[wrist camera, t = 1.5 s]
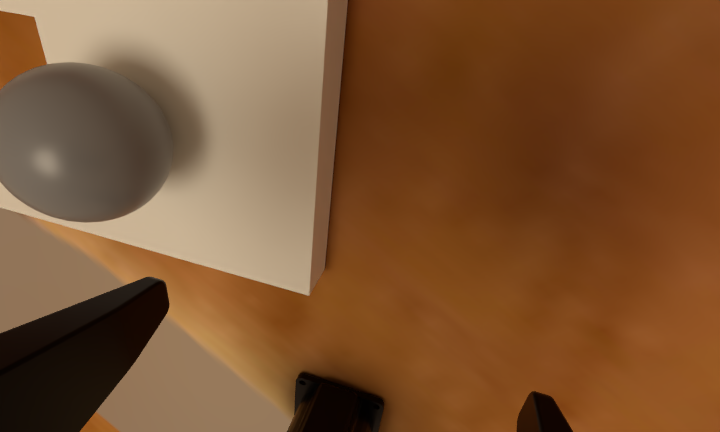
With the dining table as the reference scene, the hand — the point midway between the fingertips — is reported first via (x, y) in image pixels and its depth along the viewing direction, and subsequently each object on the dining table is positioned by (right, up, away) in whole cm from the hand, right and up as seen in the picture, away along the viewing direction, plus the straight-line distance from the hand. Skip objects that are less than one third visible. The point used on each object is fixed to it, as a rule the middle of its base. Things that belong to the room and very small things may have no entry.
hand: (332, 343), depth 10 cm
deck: (-12, +9, +13) cm, 20 cm away
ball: (-11, +6, +8) cm, 14 cm away
